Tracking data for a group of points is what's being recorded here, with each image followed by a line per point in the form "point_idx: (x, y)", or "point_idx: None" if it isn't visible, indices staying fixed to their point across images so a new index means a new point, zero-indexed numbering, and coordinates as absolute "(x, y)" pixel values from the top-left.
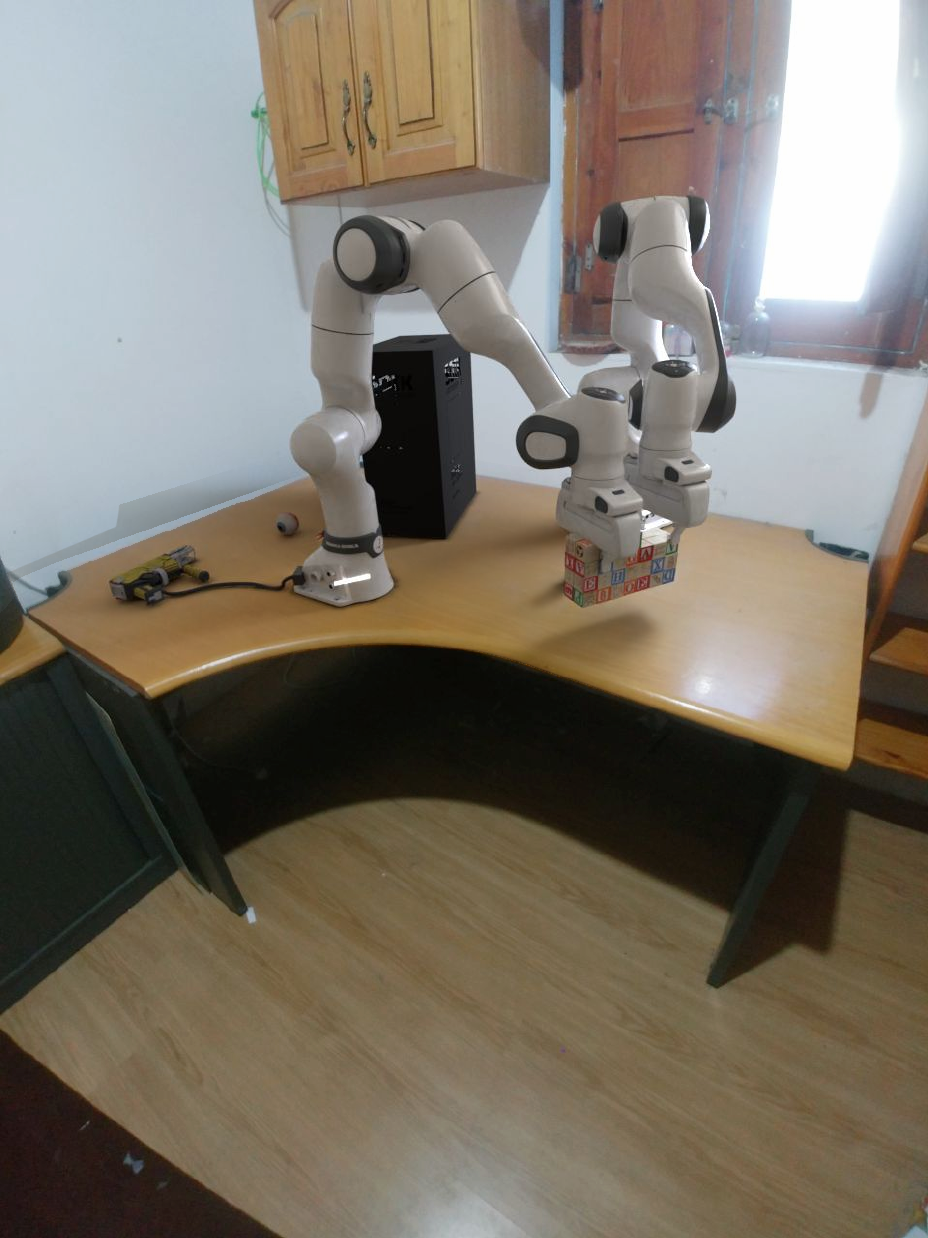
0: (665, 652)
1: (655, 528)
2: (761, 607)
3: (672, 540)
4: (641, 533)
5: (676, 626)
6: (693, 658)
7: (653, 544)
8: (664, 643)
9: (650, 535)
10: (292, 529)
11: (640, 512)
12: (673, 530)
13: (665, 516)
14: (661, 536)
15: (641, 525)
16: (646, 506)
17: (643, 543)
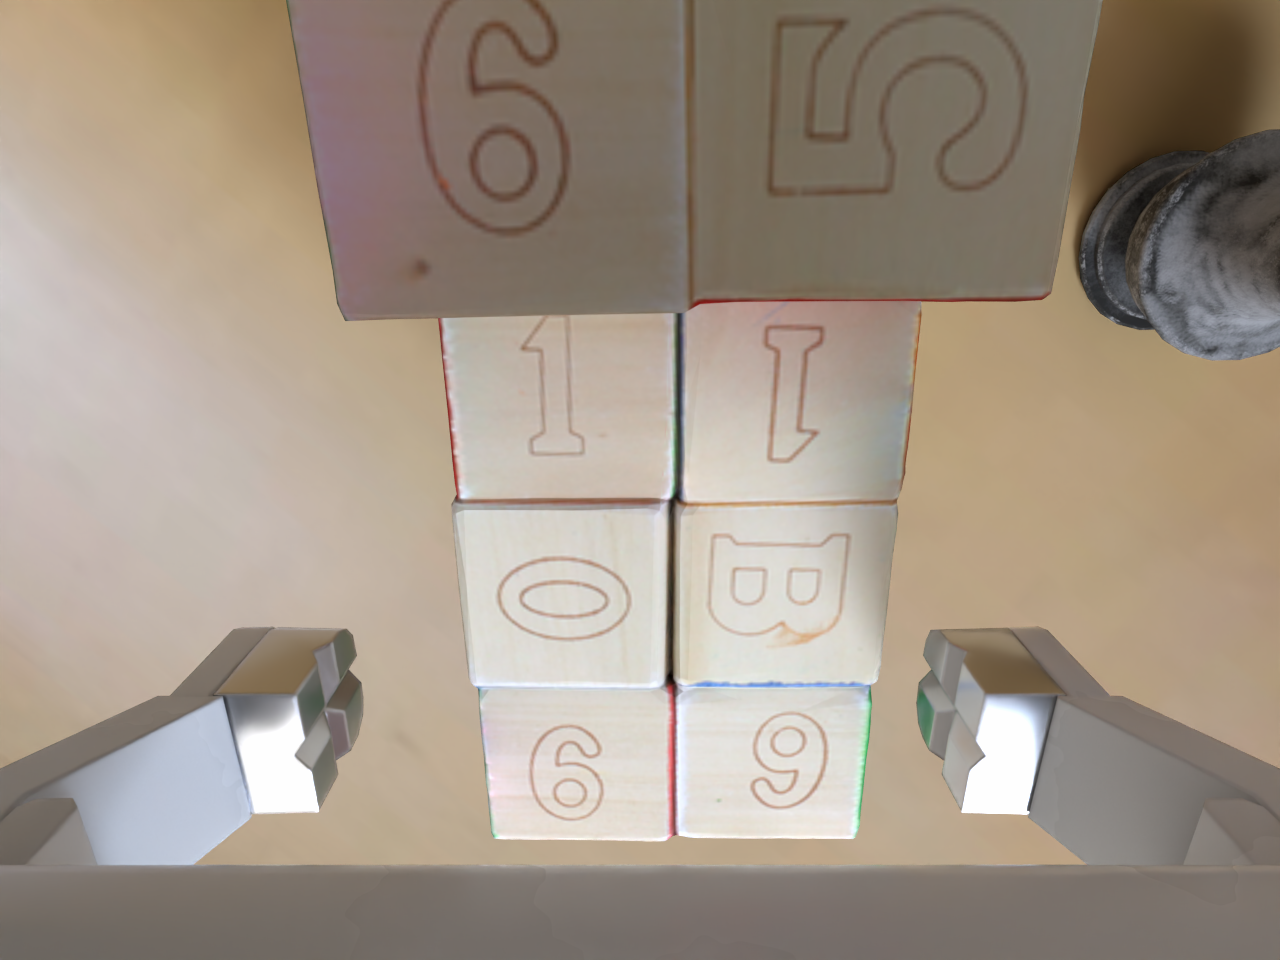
0: (175, 150)
1: (847, 808)
2: (391, 827)
3: (209, 659)
4: (339, 287)
5: (397, 397)
6: (77, 248)
7: (462, 501)
8: (263, 213)
9: (707, 640)
10: None
11: (1122, 861)
12: (88, 759)
13: (41, 906)
14: (614, 719)
15: (941, 698)
16: (809, 957)
17: (552, 414)
